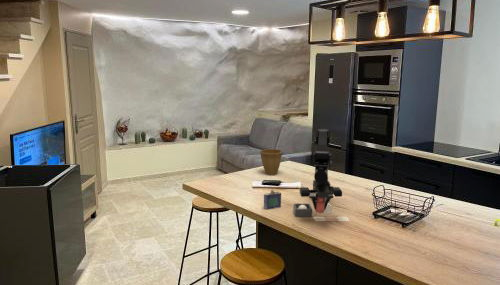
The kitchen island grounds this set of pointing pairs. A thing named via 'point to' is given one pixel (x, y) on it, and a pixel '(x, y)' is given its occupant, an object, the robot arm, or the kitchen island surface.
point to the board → (331, 219)
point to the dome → (302, 207)
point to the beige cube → (328, 209)
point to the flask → (272, 200)
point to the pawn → (320, 205)
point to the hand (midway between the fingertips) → (319, 209)
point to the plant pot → (271, 160)
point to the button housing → (302, 210)
